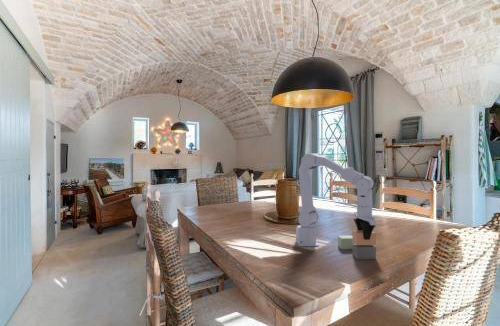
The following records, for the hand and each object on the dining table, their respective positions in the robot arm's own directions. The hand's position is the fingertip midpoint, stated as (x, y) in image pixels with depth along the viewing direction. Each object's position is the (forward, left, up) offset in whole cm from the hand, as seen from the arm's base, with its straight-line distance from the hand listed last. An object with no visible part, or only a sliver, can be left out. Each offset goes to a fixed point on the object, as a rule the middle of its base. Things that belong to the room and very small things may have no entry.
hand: (364, 237), depth 103 cm
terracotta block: (0, 0, -2) cm, 2 cm away
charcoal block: (0, 0, -8) cm, 8 cm away
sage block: (-2, +11, -8) cm, 14 cm away
